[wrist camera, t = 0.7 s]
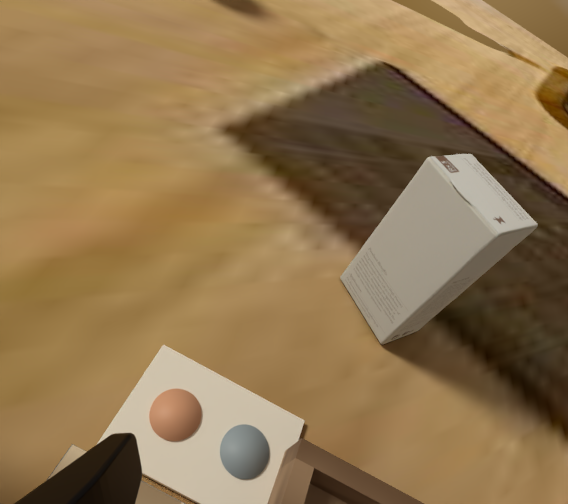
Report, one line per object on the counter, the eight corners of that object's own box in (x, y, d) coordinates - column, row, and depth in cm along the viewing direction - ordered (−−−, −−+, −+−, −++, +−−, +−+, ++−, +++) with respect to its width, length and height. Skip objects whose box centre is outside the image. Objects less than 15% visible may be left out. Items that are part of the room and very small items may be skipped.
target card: (264, 539, 20) (267, 538, 20) (94, 449, 20) (94, 446, 19) (302, 422, 24) (305, 420, 24) (162, 346, 24) (163, 343, 24)
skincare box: (419, 331, 32) (549, 227, 23) (376, 348, 29) (503, 239, 21) (375, 265, 35) (476, 150, 26) (332, 276, 32) (428, 152, 23)
